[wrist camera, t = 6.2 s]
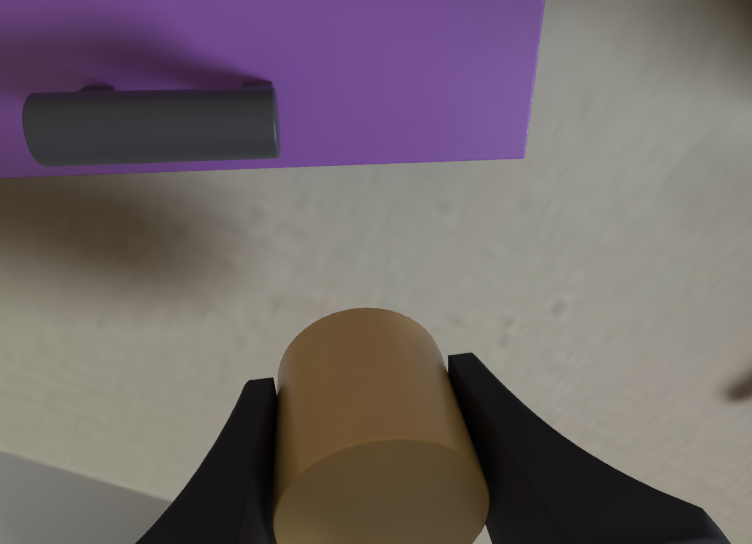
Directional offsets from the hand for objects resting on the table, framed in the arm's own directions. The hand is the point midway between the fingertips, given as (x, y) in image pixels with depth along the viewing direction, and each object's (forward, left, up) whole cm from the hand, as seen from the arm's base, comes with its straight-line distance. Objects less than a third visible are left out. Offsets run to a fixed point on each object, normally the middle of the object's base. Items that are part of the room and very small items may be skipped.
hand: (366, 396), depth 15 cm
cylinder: (0, 0, -1) cm, 1 cm away
